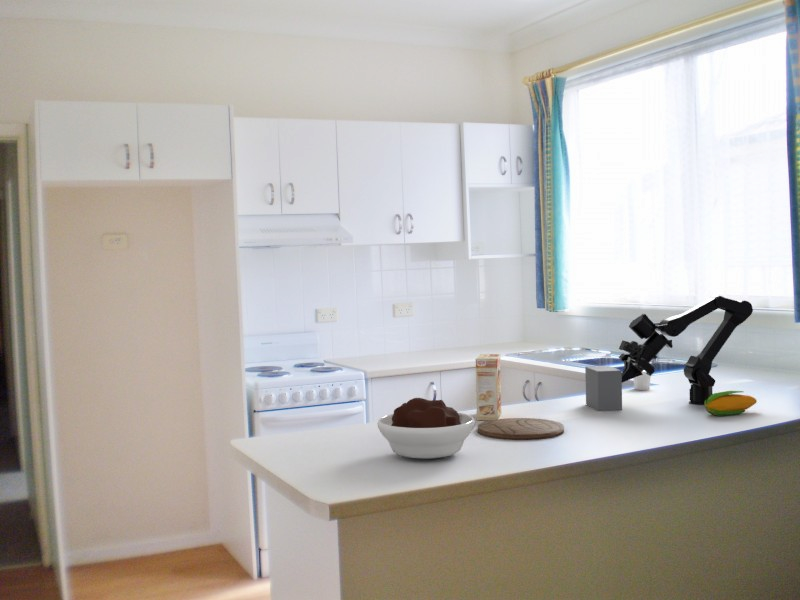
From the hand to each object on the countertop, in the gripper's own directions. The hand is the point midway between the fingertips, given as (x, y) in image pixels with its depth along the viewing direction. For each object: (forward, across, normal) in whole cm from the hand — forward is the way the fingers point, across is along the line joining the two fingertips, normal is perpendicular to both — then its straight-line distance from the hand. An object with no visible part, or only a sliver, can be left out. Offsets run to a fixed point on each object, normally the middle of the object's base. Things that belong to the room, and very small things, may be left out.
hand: (619, 382), depth 277 cm
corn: (-14, +20, +26) cm, 36 cm away
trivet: (+36, +33, -23) cm, 54 cm away
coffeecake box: (+38, +8, -26) cm, 47 cm away
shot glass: (-10, -36, +21) cm, 43 cm away
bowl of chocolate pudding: (+57, +59, -45) cm, 93 cm away
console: (+10, 0, +2) cm, 10 cm away
